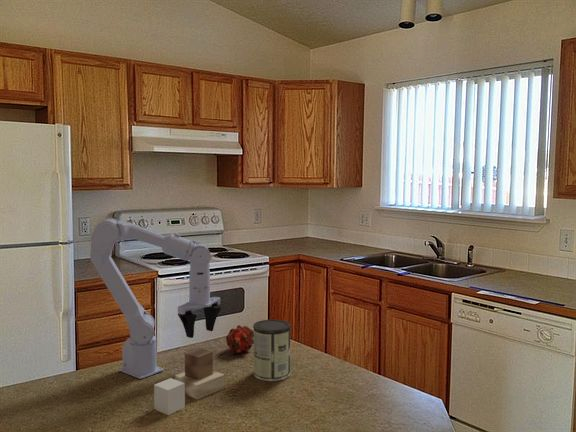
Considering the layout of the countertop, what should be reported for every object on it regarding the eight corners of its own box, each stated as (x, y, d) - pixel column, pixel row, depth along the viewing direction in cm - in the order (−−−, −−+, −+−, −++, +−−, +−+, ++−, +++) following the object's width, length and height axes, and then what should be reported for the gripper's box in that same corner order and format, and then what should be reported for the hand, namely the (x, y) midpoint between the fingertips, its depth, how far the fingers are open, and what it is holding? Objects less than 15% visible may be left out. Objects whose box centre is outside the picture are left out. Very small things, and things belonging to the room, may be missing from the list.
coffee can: (264, 364, 150) (265, 317, 149) (296, 371, 146) (297, 322, 144) (246, 377, 141) (246, 326, 140) (279, 384, 137) (279, 332, 135)
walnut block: (184, 375, 133) (184, 353, 132) (198, 369, 137) (198, 347, 136) (199, 380, 130) (198, 357, 129) (212, 374, 134) (212, 351, 133)
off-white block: (154, 409, 122) (154, 384, 121) (171, 401, 126) (170, 378, 125) (168, 415, 119) (168, 390, 118) (184, 407, 123) (184, 383, 122)
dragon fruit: (248, 349, 168) (237, 367, 157) (227, 333, 168) (215, 350, 157) (263, 330, 165) (252, 348, 154) (241, 314, 166) (229, 331, 154)
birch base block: (175, 390, 133) (174, 375, 133) (202, 380, 140) (202, 365, 140) (196, 401, 127) (196, 385, 127) (224, 389, 134) (224, 374, 134)
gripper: (190, 293, 138) (190, 343, 139) (227, 284, 149) (227, 330, 150) (172, 289, 142) (172, 337, 143) (210, 280, 153) (210, 325, 154)
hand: (199, 333), depth 147 cm, fingers open, 7 cm apart
